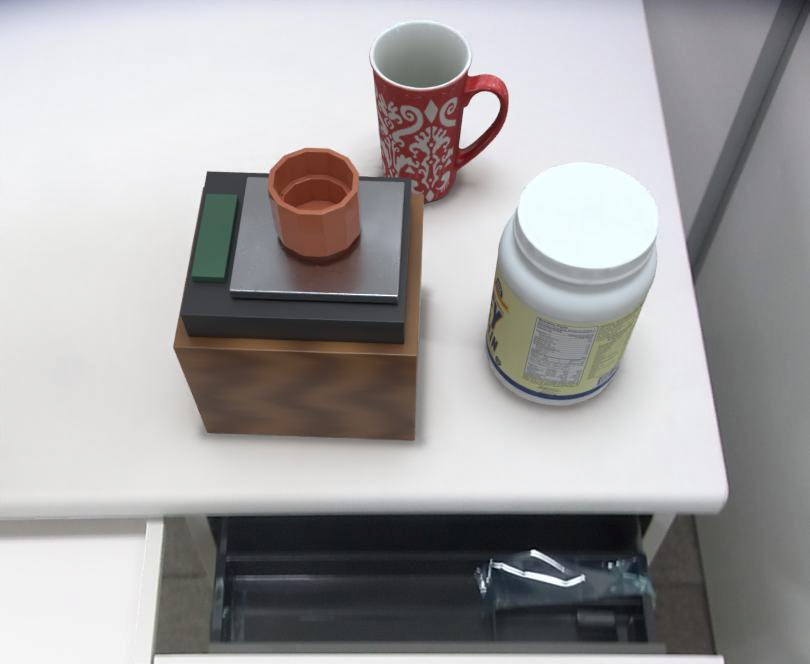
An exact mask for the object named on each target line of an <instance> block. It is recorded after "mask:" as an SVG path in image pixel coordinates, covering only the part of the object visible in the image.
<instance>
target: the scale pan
mask: <svg viewBox="0 0 810 664" xmlns="http://www.w3.org/2000/svg"><path fill="white" fill-rule="evenodd" d="M268 179H269V178H261V177H248V178H247V183H246V189H245V195H244V202H243V208H242V214H241V220H240V227H239V233H238V239H237V245H236V252H235V258H234V264H233V270H232V277H231V283H230V289H229V291H230V295H231V297H232V298H257V299H286V300H315V301H344V302H373V303H398V298H399V279H400V261H401V243H402V225H403V207H404V182H383V181H360V198H361V216H362V218H361V230H360V234H359V235H358V237H357V238H356V239H355V240H354V241H353V242H352V244H351V245H350V246H349V247H348V248H347V249H345V250H342V251H340V252H338V253H336V254H333V255H330V256H326V257H311V256H304V255H301V254H299V253H297V252H295V251H293V250H291V249H289V248H287V247H286V246H284V244H283V243H282V241H281V239H280V238H279V236H278V234H277V233H276V231H275V227H274V221H273V216H272V210H271V205H270V200H269V194H268V189H267V186H268Z"/></svg>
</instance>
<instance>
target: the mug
mask: <svg viewBox="0 0 810 664" xmlns="http://www.w3.org/2000/svg"><path fill="white" fill-rule="evenodd" d="M368 53H369V55H368V58H369V64H370V66H371V69H372V75H373V86H374V95H375V97H374V98H375V106H376V114H377V115H376V116H377V124H378V136H379V146H380V154H381V167H382V175H383V176H382V177H399V178H411V179H412V187H411V194H424V203H428V202H429V203H430V202H433V201H437V200H439V199H441V198H443V197H444V196H446V195H447V194H448V193H449V192H450V191H451V190H452V188H453V186H454V184H455V182H456V176H457V172H458V171H459V170H460V169H462V168H463V167H464V166H466V165H468V164H469V163H470V162H471V161H472V160H474V159H475V158H476V157H477V156H479V155H480V154H481V153H482V152H484V151H485V149H486V148H487V147H489V145H490V144H491V143H492V142H493V141H494V140H495V139H496V138H497V136H498V135H499V133H500V132H501V130H502V129H503V127H504V125H505V122H506V120H507V117H508V112H509V106H510V105H509V103H510V102H509V101H510V100H509V99H510V95H509V90H508V88H507V85H506V83H505V82H504V81H503V80H502V79H501V78H500V77H498V76H497V75H493V74H489V73H482V74H477V75H472V76H471V75H469V70H470V68H471V66H472V62H473V51H472V46H471V44H470V42H469V41H468V39H467V37H466V36H464V35H463V33H461V32H460V31H459V30H458V29H456V28H455V27H453V26H451V25H449V24H446V23H443V22H439V21H435V20H428V19H414V20H407V21H402V22H399V23H395V24H393V25H391V26H389V27H387V28H386V29H384V30H383V31H382V32H380V33H379V34H378V35H377V36H376V37H375V38H374V40H373V42H372V43H371V45H370V48H369V52H368ZM483 92H484V93H485V92H487V93H491V94H493V95H495V96H496V98H497V99H498V101H499V110H498V113H497V115H496V117H495V119H494V120H493V122H492V123H491V125H490V126H489V127H488V128H487V129H486V130H485V131H484V132H483V133H482V134H481V135H480V136H479V137H478V138H477V139H476V140H474V141H473V142H472V143H470V144H469V145H468V146H466V147H464V148H461V147H460V141H461V133H462V125H463V117H464V109H465V108H467V107H468V106H469V105H470V102H471V101H472V99H473V97H475V96H476V95H478V94H479V93H483Z"/></svg>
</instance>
